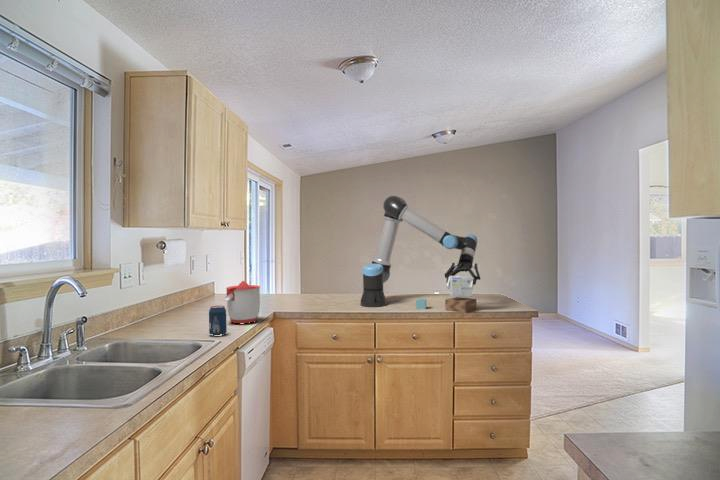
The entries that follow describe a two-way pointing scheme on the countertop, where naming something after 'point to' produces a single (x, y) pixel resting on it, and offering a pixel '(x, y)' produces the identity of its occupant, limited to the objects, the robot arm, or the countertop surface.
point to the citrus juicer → (243, 302)
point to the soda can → (217, 320)
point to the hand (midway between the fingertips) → (459, 288)
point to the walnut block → (460, 304)
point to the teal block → (421, 304)
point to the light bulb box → (460, 286)
